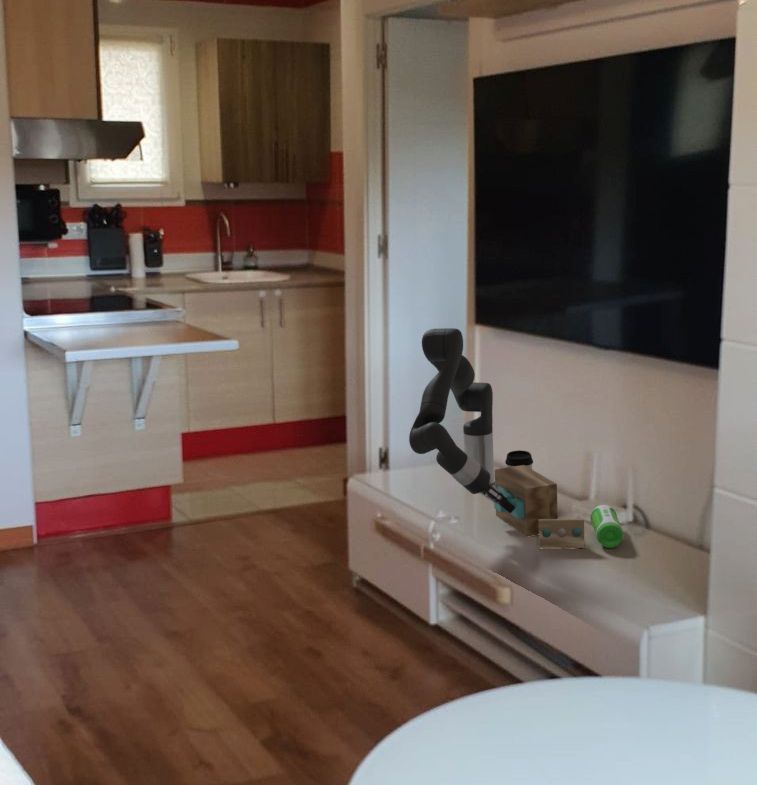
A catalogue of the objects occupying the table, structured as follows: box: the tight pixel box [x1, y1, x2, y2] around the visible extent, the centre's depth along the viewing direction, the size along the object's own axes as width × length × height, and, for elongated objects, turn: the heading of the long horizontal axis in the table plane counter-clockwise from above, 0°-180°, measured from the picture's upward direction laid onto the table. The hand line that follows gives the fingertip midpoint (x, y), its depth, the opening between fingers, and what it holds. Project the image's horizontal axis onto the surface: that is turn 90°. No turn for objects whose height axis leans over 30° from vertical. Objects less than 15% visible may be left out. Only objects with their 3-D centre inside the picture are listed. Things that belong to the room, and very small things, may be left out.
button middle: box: [493, 491, 514, 512], centre depth 331 cm, size 6×4×4 cm
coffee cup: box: [505, 449, 534, 470], centre depth 353 cm, size 8×8×15 cm
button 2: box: [510, 498, 525, 519], centre depth 325 cm, size 6×4×4 cm
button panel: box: [494, 465, 559, 537], centre depth 333 cm, size 10×21×14 cm, turn 18°
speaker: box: [590, 504, 624, 549], centre depth 319 cm, size 18×7×8 cm, turn 176°
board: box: [538, 518, 586, 550], centre depth 315 cm, size 5×12×8 cm, turn 83°
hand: (511, 509), depth 325 cm, fingers closed
